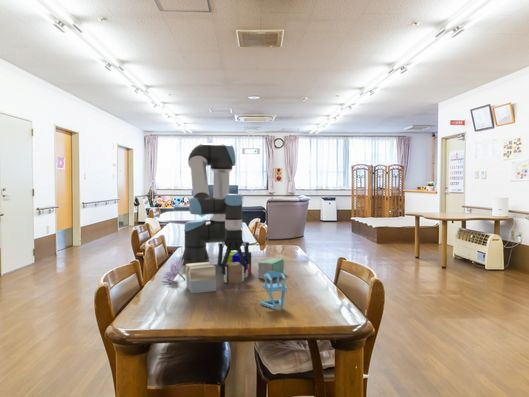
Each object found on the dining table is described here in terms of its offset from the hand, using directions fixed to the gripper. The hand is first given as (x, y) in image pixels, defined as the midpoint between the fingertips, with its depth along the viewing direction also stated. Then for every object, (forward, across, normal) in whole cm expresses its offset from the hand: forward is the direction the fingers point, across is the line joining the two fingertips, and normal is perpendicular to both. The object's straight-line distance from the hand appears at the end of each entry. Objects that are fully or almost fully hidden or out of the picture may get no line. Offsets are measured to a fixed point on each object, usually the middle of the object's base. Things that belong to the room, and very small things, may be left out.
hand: (233, 281), depth 166 cm
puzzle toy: (+1, +6, +12) cm, 14 cm away
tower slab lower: (+1, -16, -6) cm, 17 cm away
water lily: (+1, -24, +11) cm, 27 cm away
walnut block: (0, 0, 0) cm, 0 cm away
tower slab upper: (-4, -16, -6) cm, 18 cm away
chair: (+1, +4, -37) cm, 37 cm away
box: (+1, +20, +4) cm, 20 cm away
